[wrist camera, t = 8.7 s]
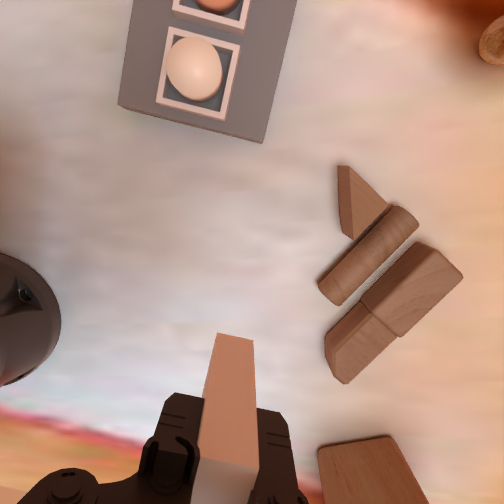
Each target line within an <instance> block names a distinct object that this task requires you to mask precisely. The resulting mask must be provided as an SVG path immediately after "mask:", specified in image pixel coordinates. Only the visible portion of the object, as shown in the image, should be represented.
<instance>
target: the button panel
mask: <svg viewBox="0 0 504 504" xmlns="http://www.w3.org/2000/svg"><path fill="white" fill-rule="evenodd" d="M296 3H297V0H240V1H239V3H238V5H237V6H236V7H235V8H234V10H232V11H231V12H229V13H228V14H225V15H220V16H218V15H215V14H211V13H207V12H205V11H203V10H202V9H201V8H200V7H199V6H198V4H197V3H196V1H195V0H134V1H133V7H132V14H131V20H130V27H129V33H128V40H127V46H126V53H125V59H124V66H123V72H122V79H121V85H120V92H119V98H118V105H119V106H121V107H123V108H125V109H128V110H132V111H135V112H139V113H143V114H147V115H151V116H155V117H159V118H163V119H167V120H171V121H175V122H179V123H182V124H186V125H190V126H194V127H198V128H202V129H206V130H210V131H214V132H218V133H222V134H226V135H230V136H233V137H237V138H241V139H245V140H249V141H253V142H257V143H261V144H262V143H263V140H264V136H265V132H266V127H267V123H268V119H269V115H270V111H271V107H272V102H273V98H274V94H275V90H276V86H277V82H278V78H279V73H280V69H281V65H282V61H283V57H284V53H285V48H286V44H287V40H288V36H289V32H290V28H291V23H292V19H293V15H294V11H295V7H296ZM185 37H199V38H202V39H204V40H206V41H208V42H209V43H210V44H211V45H212V46H213V47H214V48H215V50H216V51H217V53H218V55H219V58H220V62H221V67H222V71H223V81H222V85H221V88H220V89H219V91H218V93H217V94H216V95H215V96H214V97H212V98H211V99H209V100H207V101H203V102H195V101H191V100H189V99H187V98H185V97H184V96H183V95H181V93H180V92H179V91H178V90H177V89H176V88H175V87H174V86H173V84H172V83H171V81H170V80H169V77H168V75H167V70H166V59H167V55H168V53H169V51H170V49H171V48H172V46H173V45H174V44H175V43H176V42H177V41H179V40H181V39H183V38H185Z"/></svg>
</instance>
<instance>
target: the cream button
mask: <svg viewBox="0 0 504 504" xmlns="http://www.w3.org/2000/svg"><path fill="white" fill-rule="evenodd" d="M166 70H167V75H168V77H169V80H170V81H171V83H172V84H173V86H174V87H175V88H176V89H177V90H178V91H179V92H180V93H181V95H183V96H184V97H185V98H187V99H189V100H191V101H195V102H203V101H207V100H209V99H211V98H212V97H214V96H215V95H216V94H217V93H218V91H219V89H220V88H221V85H222V81H223V71H222V67H221V62H220V58H219V55H218V53H217V51H216V50H215V48H214V47H213V46H212V45H211V44H210V43H209V42H208V41H206V40H204V39H202V38H199V37H185V38H183V39H181V40H179V41H177V42H176V43H175V44H174V45H173V46H172V48H171V49H170V51H169V53H168V55H167V59H166Z"/></svg>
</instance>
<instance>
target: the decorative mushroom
mask: <svg viewBox="0 0 504 504" xmlns="http://www.w3.org/2000/svg"><path fill="white" fill-rule="evenodd" d="M479 54H480V56H481V57H482V59H483V60H485V61H486V62H488V63H490V64H495V65H501V64H504V15H502V16H501V17H499V18H498V19H496V20H495V21H494V22H492V23H491V24H490V25H489V26H488V27H487V28H486V30H485V31H484V32H483V34H482V36H481V38H480V42H479Z"/></svg>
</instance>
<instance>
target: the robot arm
mask: <svg viewBox="0 0 504 504" xmlns="http://www.w3.org/2000/svg"><path fill="white" fill-rule="evenodd" d="M60 327H61V319H60V312H59V307H58V304H57V301H56V299H55V297H54V295H53V293H52V291H51V289H50V288H49V286H48V285H47V284H46V282H45V281H44V280H43V279H42V278H41V277H40V276H39V275H38V274H37V273H36V272H35V271H34V270H33V269H31V268H30V267H29V266H27V265H26V264H24V263H22V262H21V261H19V260H17V259H15V258H12V257H10V256H7V255H4V254H0V387H2V386H5V385H8V384H11V383H14V382H16V381H19V380H21V379H23V378H24V377H26V376H28V375H29V374H30V373H32V372H33V371H34V370H35V369H37V368H38V367H39V366H40V365H41V364H42V363H43V362H44V361H45V360H46V359H47V358H48V357H49V355H50V354H51V353H52V351H53V350H54V348H55V346H56V344H57V341H58V338H59V334H60ZM289 438H290V435H289V429H288V424H287V423H286V421H285V420H284V418H283V417H282V415H281V413H280V412H275V411H270V410H265V409H260V408H256V389H255V368H254V347H253V340H249V339H244V338H240V337H235V336H231V335H226V334H221V333H217V335H216V339H215V344H214V348H213V352H212V356H211V360H210V364H209V369H208V373H207V377H206V381H205V385H204V389H203V394H202V398H200V397H195V396H190V395H185V394H180V393H174V394H172V395H171V396H170V397H169V398H168V399H167V400H166V401H165V403H164V406H163V409H162V412H161V415H160V418H159V421H158V424H157V427H156V430H155V433H154V436H152V437H151V438H149V439H148V440H147V442H146V443H145V445H144V446H143V451H142V456H141V460H140V465H139V470H138V472H137V473H135V474H134V475H132V476H131V477H129V478H127V479H124V480H122V481H118V482H113V483H104V484H98V482H97V480H96V478H95V477H94V476H93V475H92V474H91V473H89V472H88V471H86V470H82V469H78V468H67V469H60V470H58V471H55V472H52V473H50V474H48V475H47V476H46V477H44V478H43V479H42V480H40V481H39V482H38V483H37V484H36V485H35V486H34V487H33V488H32V489H31V490H30V491H29V492H28V493H27V494H26V495H25V496H24V497H23V498H22V499H21V500H20V501H19V502H18V503H17V504H309V503H308V500H307V498H306V497H305V496H304V494H303V493H302V492H301V491H300V490H299V489H298V484H297V478H296V472H295V465H294V459H293V453H292V449H291V441H290V439H289Z"/></svg>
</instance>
